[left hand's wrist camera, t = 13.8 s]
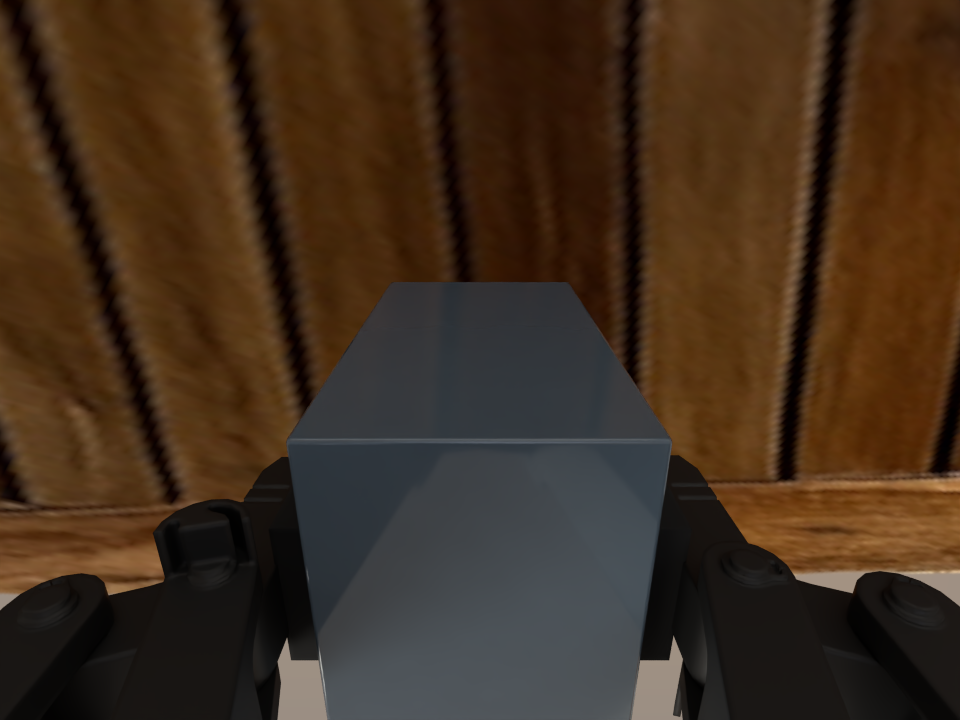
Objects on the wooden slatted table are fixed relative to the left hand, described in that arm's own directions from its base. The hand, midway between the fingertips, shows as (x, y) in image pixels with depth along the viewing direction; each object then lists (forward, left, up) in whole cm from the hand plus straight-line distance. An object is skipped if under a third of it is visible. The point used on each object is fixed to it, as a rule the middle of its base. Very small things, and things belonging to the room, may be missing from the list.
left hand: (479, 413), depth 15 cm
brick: (0, 0, -1) cm, 1 cm away
